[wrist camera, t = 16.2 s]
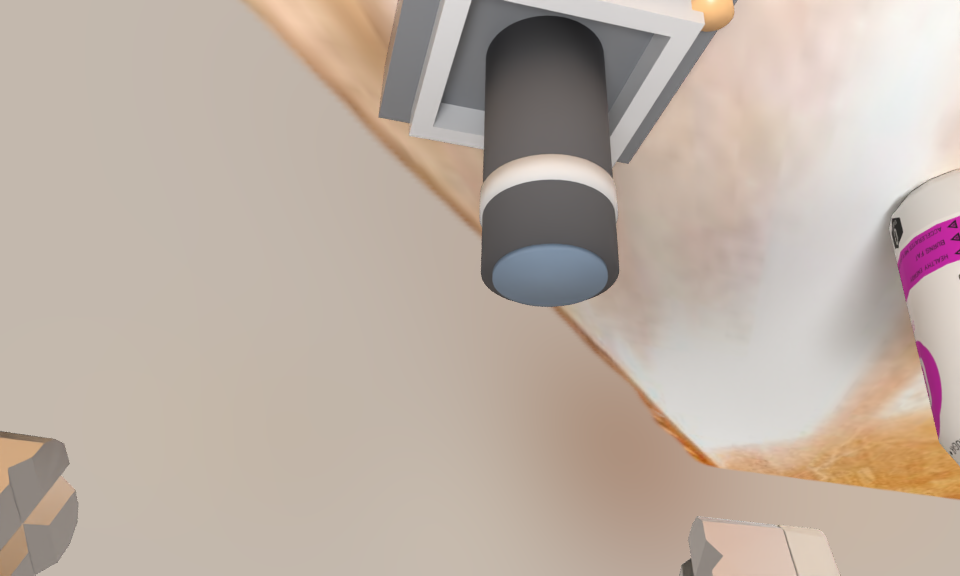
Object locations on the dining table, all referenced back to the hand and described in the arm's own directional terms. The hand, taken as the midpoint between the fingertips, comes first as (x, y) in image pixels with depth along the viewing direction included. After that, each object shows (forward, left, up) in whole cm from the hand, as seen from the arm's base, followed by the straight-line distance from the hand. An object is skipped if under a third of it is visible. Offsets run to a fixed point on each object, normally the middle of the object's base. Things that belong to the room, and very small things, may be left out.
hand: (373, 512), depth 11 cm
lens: (-7, +13, -22) cm, 26 cm away
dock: (-7, +13, -25) cm, 29 cm away
